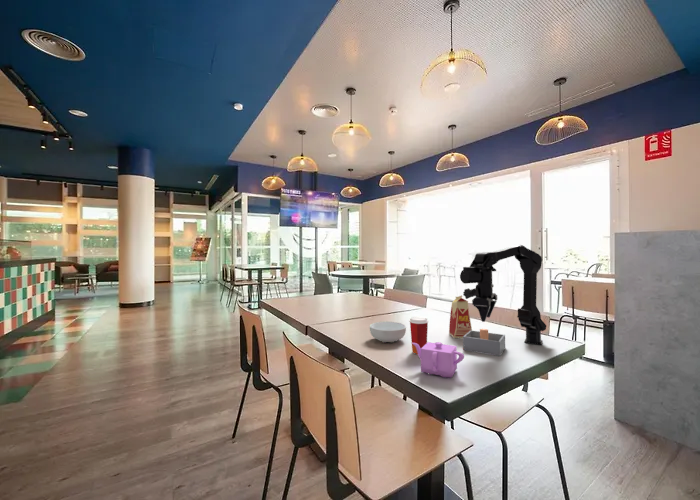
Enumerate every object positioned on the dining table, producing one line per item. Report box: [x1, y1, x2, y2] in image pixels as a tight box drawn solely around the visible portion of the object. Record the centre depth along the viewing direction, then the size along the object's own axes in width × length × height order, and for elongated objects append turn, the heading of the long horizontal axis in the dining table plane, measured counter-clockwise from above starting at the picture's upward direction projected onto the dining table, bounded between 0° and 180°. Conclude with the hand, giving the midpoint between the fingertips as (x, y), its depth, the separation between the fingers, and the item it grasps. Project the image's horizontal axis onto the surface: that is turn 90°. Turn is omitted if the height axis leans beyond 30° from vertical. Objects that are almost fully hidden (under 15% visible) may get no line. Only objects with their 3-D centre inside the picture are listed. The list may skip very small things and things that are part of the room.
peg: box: [479, 328, 489, 340], centre depth 126 cm, size 3×3×8 cm
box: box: [462, 329, 506, 357], centre depth 126 cm, size 12×14×6 cm
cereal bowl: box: [369, 321, 407, 343], centre depth 140 cm, size 17×17×7 cm
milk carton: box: [448, 295, 473, 339], centre depth 146 cm, size 9×9×20 cm
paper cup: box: [408, 316, 429, 355], centre depth 123 cm, size 8×8×14 cm
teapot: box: [411, 341, 465, 378], centre depth 103 cm, size 18×14×10 cm
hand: (485, 319), depth 126 cm, fingers open, 9 cm apart
